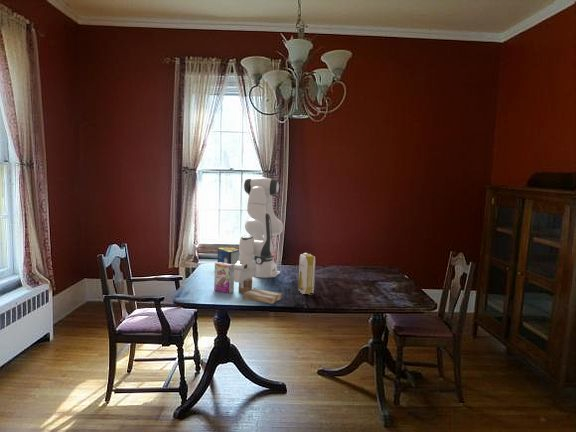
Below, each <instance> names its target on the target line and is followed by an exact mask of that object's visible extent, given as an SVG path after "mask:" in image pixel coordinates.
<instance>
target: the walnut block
mask: <svg viewBox="0 0 576 432" xmlns="http://www.w3.org/2000/svg"><path fill="white" fill-rule="evenodd" d="M244 285H245V286H244V288H241V285H240V283H239V282H238V293H242V294H243V293H245V292H247V291H250V290H252V289H253V277H252V278H249V279H246V280H245V281H244Z"/></svg>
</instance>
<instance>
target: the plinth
mask: <svg viewBox="0 0 576 432" xmlns="http://www.w3.org/2000/svg"><path fill="white" fill-rule="evenodd" d="M281 298H283V293H281V292H276V291H269V290H264V289H261V288H252V290H250V291H247V292H245V293H242V299H244V300H248V301H249V300H250V301H253V302H258V303H265V304H270V305H272V304H274V303H276V302H279V301H280V300H282V299H281Z"/></svg>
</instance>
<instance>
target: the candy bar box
mask: <svg viewBox="0 0 576 432" xmlns="http://www.w3.org/2000/svg"><path fill="white" fill-rule="evenodd" d="M213 286H214V289H213V290H214V291H216V292H221V293H225V294H231V293H234V289H235V281H234V265H232V264H227V263H222V262H218V261H217V262H215V263H214V285H213Z"/></svg>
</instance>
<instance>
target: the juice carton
mask: <svg viewBox="0 0 576 432" xmlns="http://www.w3.org/2000/svg"><path fill="white" fill-rule="evenodd" d="M298 264H299V265H298V281H297V282H298V283H297V284H298V285H297V286H298V292H299V291H300V292H299V293H301V294H302V295H303V294H308V295H311V294H310V293H313V294H314V291H315V279H316V276H315V275H316V256H314V255H312V254H311V253H308V252H304V253H301V254H300V255H299V263H298Z"/></svg>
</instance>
